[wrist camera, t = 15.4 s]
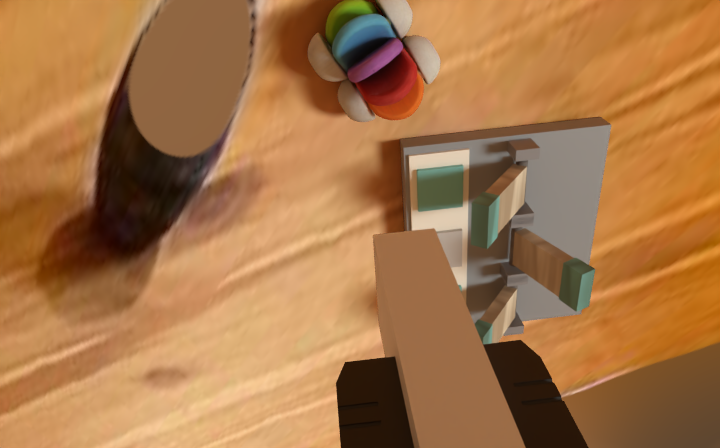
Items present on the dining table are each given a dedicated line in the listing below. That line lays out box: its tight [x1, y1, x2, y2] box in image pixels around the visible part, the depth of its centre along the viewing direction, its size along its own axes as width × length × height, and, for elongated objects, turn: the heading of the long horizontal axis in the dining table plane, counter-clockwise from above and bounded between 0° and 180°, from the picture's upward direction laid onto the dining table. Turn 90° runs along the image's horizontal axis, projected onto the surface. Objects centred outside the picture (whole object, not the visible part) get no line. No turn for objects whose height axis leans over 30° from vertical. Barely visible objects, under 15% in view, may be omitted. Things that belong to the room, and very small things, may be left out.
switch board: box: [400, 117, 611, 336], centre depth 52 cm, size 18×21×4 cm
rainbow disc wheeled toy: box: [308, 0, 440, 122], centre depth 41 cm, size 8×10×7 cm
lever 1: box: [471, 160, 528, 249], centre depth 45 cm, size 1×4×9 cm
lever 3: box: [509, 227, 595, 312], centre depth 48 cm, size 1×4×9 cm, turn 5°
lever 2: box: [475, 285, 518, 344], centre depth 52 cm, size 1×4×9 cm
